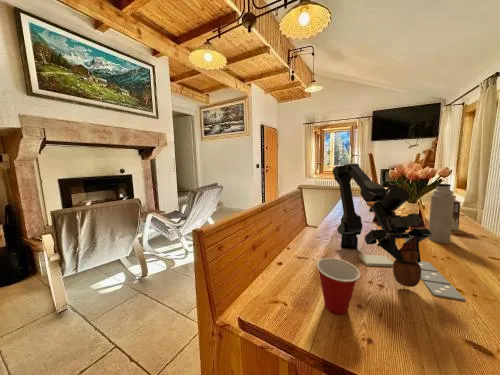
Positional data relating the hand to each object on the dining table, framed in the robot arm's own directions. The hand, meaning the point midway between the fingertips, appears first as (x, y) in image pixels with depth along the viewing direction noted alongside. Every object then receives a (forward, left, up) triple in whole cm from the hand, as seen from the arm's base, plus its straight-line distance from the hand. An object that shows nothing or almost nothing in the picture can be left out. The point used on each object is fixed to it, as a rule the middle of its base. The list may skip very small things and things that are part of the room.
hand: (411, 262), depth 60 cm
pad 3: (+10, +4, -9) cm, 14 cm away
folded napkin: (-6, +18, -9) cm, 21 cm away
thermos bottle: (+27, +53, -10) cm, 61 cm away
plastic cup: (-21, -15, -10) cm, 27 cm away
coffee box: (+39, +76, -10) cm, 86 cm away
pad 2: (+10, +12, -9) cm, 18 cm away
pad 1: (+9, +20, -9) cm, 24 cm away
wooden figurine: (-1, +1, -8) cm, 8 cm away
